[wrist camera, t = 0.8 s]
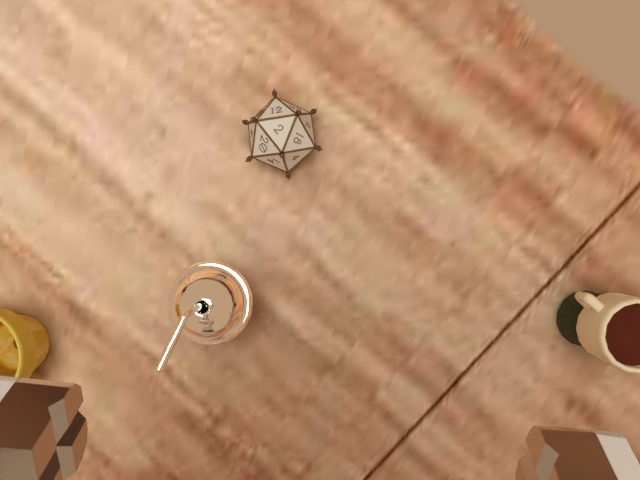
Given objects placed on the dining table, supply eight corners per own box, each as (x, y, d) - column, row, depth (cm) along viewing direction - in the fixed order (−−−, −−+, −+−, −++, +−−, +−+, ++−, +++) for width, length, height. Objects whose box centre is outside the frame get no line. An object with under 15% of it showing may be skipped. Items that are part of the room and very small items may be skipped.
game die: (296, 159, 73) (299, 204, 65) (232, 131, 70) (226, 175, 62) (331, 98, 68) (339, 138, 60) (263, 65, 65) (262, 103, 57)
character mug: (639, 326, 68) (710, 347, 55) (597, 372, 68) (657, 404, 55) (567, 262, 68) (621, 268, 55) (525, 308, 68) (569, 325, 55)
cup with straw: (280, 299, 69) (255, 324, 49) (219, 347, 69) (170, 391, 49) (235, 242, 69) (192, 244, 49) (175, 290, 69) (108, 311, 50)
